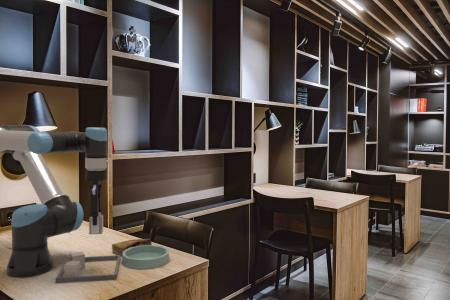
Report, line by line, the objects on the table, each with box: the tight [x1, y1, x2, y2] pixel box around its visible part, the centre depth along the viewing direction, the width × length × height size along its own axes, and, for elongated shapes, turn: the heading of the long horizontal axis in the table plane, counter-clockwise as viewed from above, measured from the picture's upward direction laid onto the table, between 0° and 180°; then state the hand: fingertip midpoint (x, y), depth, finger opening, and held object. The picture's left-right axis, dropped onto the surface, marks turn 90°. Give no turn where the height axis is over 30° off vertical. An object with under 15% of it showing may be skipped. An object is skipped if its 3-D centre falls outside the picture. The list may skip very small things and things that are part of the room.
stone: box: [111, 238, 153, 257], centre depth 162 cm, size 15×9×5 cm, turn 129°
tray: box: [55, 254, 122, 284], centre depth 141 cm, size 20×21×2 cm
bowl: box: [121, 244, 170, 270], centre depth 151 cm, size 18×18×4 cm
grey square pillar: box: [88, 214, 104, 235], centre depth 140 cm, size 4×4×6 cm
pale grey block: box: [69, 250, 86, 269], centre depth 144 cm, size 4×4×5 cm
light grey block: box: [63, 261, 82, 277], centre depth 134 cm, size 4×4×5 cm
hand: (96, 231), depth 140 cm, fingers closed on grey square pillar, 4 cm apart
